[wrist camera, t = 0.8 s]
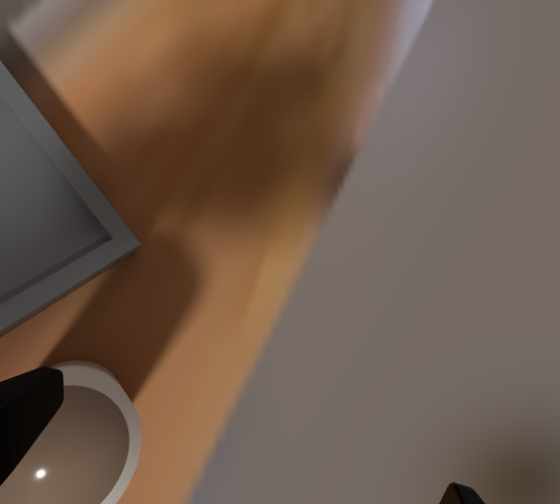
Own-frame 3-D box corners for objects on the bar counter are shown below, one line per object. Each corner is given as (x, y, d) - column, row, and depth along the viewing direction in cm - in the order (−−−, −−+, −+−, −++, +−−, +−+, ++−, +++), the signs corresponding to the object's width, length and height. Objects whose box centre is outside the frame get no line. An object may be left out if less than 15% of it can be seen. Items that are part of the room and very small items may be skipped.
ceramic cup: (53, 489, 17) (27, 593, 10) (-17, 411, 16) (-94, 465, 10) (142, 410, 20) (171, 449, 13) (84, 339, 19) (81, 340, 12)
